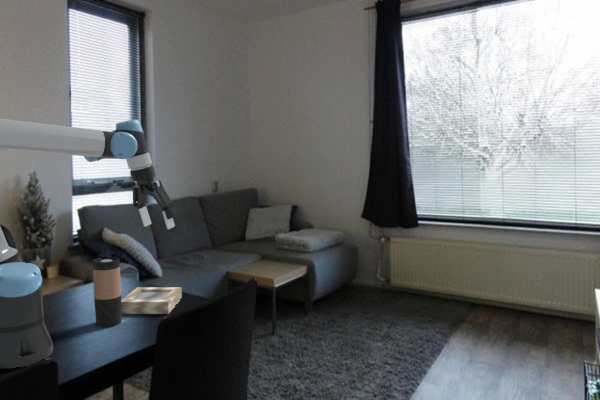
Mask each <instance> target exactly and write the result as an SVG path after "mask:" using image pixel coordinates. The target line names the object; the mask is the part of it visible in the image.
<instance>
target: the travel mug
mask: <svg viewBox="0 0 600 400" xmlns="http://www.w3.org/2000/svg"><path fill="white" fill-rule="evenodd" d="M120 263H121V262H120V258H119V256H108V257H107V258H100V257H98V258H95V259H93V260H92V275H93V301H94V312H95V314H94V315H95V323H96V326H97V328H98V327H99V328H112V327H115V326H118V325H120V324H121V323H122V314H121V300H122V280H121V264H120Z"/></svg>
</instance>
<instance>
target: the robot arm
mask: <svg viewBox="0 0 600 400" xmlns="http://www.w3.org/2000/svg"><path fill="white" fill-rule="evenodd" d="M0 150H1V151H13V152H26V153H27V152H28V153H39V154H54V155H64V156H65V155H67V156H78V157H79V156H80V157H84V159H85V160H86V161H87V162H89V163H92V162H93V163H94V162H96V161H97V162H99V161H100V160H104V159H108V160H113V159H116V160H117V159H118V160H126V164H127V167H128V169H129V174H130V176H131V179H132V181H131V183H130V184H131V187H132V206H133V207H134V208H137V210H138V212H139V214H140V218H141V221H142V224H143V228H144V227H148V226H150V225H152V220H151V217H150V214H149V210H148V207H147V204H146V201H147V200H146V199H147V196H149V197H152V198H153V199H154V200H155V202H156V203H157V204H158V206H159V207H160V208H161V209H162V210H161V213H162V216H163V219H164V222H165V223H164V224H165V226H166V229H167V230H171V229H172V228H174V227H175V226H176V225H175V222H174V218H173V214H172V210H171V209H172V208H173V207H174V206H175V204H174V203H173V200H172V199H171V198H170V196H169V194H168V193H167V191H166V190H165V187H164V186H163V183H162V181H161V180H160V179H158V180H155V179H154V178H155V176H156V171H155V167H154V165H152V163H153V161H152V158H151V154H150V152H149V148H148V145H147V141H146V138H145V134H144V130H143V128H142V125H141V123H140V120H138V119H130V120H129V119H128V120H126V121H125V120H124V121H121V122H117V123H115V130H112V131H108V130H99V129H92V128H91V129H90V128H84V127H82V128H81V127H74V126H66V125H57V124H49V123H42V122H35V121H34V122H32V121H26V120H24V121H23V120H15V119H8V118H7V119H6V118H0ZM43 299H44V298H43V276H42V273H41V269H40V268H39V266H38V265H36V264H34V263H30V262H23V260H22V259H21V256H20V254H19V251H18V249H17V248H13V247H11V246H9V243H8V242H7V239H6V236H5V234H4V231H3V230H2V227H1V226H0V368H16V367H21V368H25V367H29V366H32V365H34V364H33V363H35V364H37V363H39V362H38V361H40V360H42V359H44V360H45V359H47V358H49V357H50V356H51V355H52V354H53V352H54V343H53V340H52V337H51V336H50V333H49V330H48V328H47V326H46V324H45V320H44V319H45V317H44V316H45V315H44V303H43V302H44V300H43ZM42 361H43V360H42ZM36 362H37V363H36ZM40 362H41V361H40ZM31 364H32V365H31ZM22 366H23V367H22ZM24 366H25V367H24Z"/></svg>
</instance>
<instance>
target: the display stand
mask: <svg viewBox="0 0 600 400" xmlns="http://www.w3.org/2000/svg"><path fill="white" fill-rule="evenodd" d="M182 290H183V289H182V287H181V286H180V287H179V286H178V287H173V286H171V287H169V286H166V287H161V286H159V287H157V286H156V287H155V286H154V287H153V286H149V287H148V286H147V287H146V286H145V287H144V286H143V287H142V286H140V287H139V286H137V287H136V288H134V289H133V290H132V291H130V293H128V294H127V295H126V296H125V297H123V298H121V315H125V314H126V315H127V314H129V315H136V314H137V315H158V314H159V315H170V313H171V312H172V310H173V309H174V308H175V307H176V306H177V305H178V304H179V303H180V301H181V300H182V299H183V295H182V293H183V292H182ZM181 298H182V299H181ZM180 299H181V300H180ZM176 304H177V305H176ZM175 305H176V306H175Z"/></svg>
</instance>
